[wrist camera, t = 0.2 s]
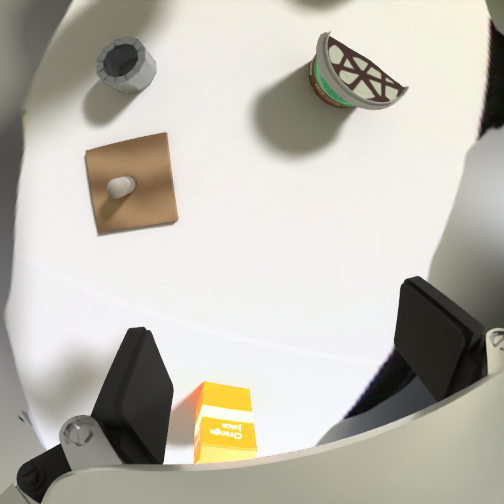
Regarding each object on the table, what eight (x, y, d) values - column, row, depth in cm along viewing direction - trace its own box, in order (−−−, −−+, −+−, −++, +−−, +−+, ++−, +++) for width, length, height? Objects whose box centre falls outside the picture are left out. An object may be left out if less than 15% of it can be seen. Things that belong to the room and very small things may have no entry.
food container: (284, 87, 34) (303, 67, 25) (303, 54, 32) (326, 28, 23) (358, 132, 37) (395, 128, 27) (374, 99, 35) (412, 89, 26)
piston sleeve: (113, 58, 30) (97, 46, 24) (155, 47, 30) (144, 32, 25) (114, 97, 32) (97, 89, 26) (157, 87, 32) (146, 76, 27)
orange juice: (203, 380, 49) (200, 473, 30) (249, 388, 50) (261, 478, 31) (196, 405, 51) (192, 491, 32) (238, 412, 52) (246, 495, 34)
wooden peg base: (88, 150, 34) (68, 151, 28) (167, 132, 35) (156, 129, 29) (101, 231, 38) (84, 243, 32) (178, 219, 39) (170, 230, 33)
